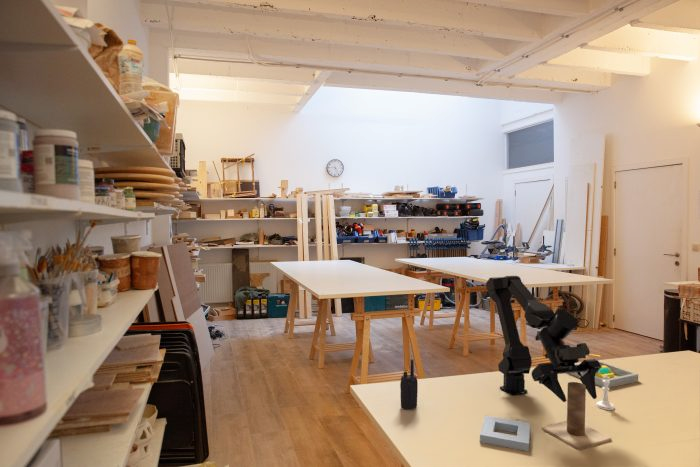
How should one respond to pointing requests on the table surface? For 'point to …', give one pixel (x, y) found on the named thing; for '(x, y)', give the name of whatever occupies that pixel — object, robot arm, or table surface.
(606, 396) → the chess piece
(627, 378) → the tray
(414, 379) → the two-way radio
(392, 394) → the table surface
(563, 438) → the wooden coaster
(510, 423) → the holder block
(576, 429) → the walnut dowel
